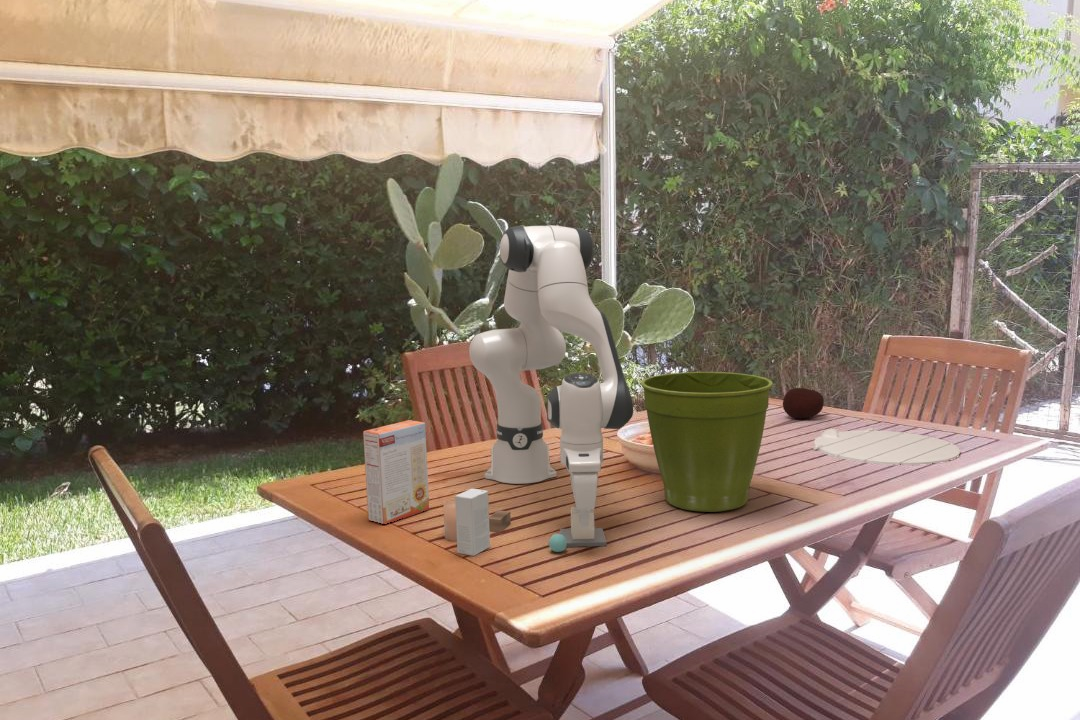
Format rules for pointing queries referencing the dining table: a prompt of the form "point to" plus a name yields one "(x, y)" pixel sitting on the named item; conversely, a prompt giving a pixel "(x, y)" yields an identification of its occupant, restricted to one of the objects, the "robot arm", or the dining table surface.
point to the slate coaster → (597, 541)
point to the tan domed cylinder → (450, 521)
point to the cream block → (576, 529)
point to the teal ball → (557, 542)
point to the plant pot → (706, 435)
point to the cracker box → (396, 471)
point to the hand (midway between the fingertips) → (582, 518)
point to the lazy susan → (885, 447)
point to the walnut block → (499, 521)
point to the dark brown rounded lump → (802, 403)
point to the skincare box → (472, 521)
